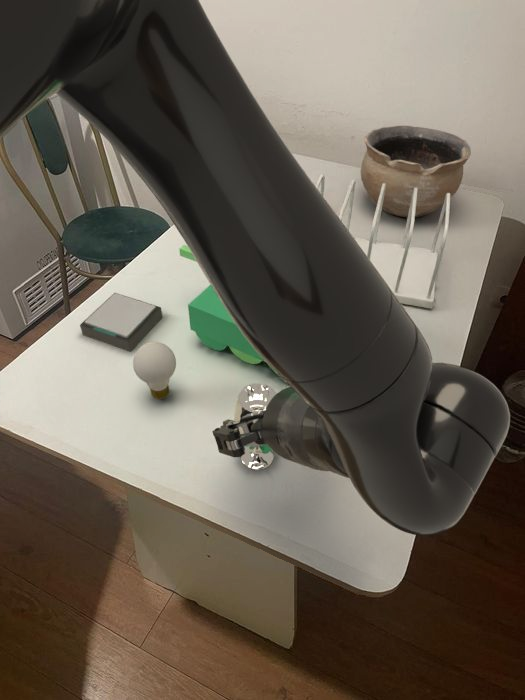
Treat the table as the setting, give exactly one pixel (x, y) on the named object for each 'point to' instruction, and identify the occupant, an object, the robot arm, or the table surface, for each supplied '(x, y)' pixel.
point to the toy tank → (217, 323)
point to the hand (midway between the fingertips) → (259, 416)
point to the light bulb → (155, 367)
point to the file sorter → (401, 253)
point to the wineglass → (251, 402)
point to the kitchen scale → (121, 321)
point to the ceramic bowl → (413, 167)
